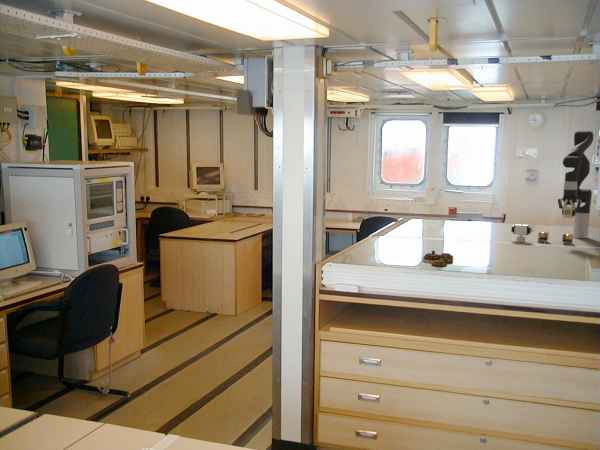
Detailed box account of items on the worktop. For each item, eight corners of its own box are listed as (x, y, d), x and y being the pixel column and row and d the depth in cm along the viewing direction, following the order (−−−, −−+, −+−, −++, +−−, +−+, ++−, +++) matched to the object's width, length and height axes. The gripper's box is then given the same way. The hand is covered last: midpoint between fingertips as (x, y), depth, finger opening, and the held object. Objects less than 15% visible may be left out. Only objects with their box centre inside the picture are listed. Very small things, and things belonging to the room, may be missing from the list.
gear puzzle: (453, 268, 308) (453, 260, 308) (420, 266, 312) (421, 259, 312) (453, 258, 338) (453, 250, 338) (423, 256, 342) (423, 249, 342)
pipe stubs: (539, 241, 401) (539, 230, 400) (572, 243, 391) (573, 232, 390) (537, 242, 396) (538, 231, 395) (571, 245, 386) (572, 233, 385)
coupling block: (566, 216, 385) (566, 205, 384) (574, 217, 382) (575, 206, 381) (562, 217, 380) (563, 206, 379) (571, 218, 377) (571, 207, 376)
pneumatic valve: (529, 242, 392) (530, 224, 391) (510, 241, 399) (511, 222, 397) (531, 241, 397) (532, 223, 395) (512, 240, 403) (513, 222, 402)
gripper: (584, 189, 377) (582, 216, 379) (560, 187, 386) (558, 214, 388) (580, 189, 371) (578, 217, 374) (556, 188, 380) (554, 215, 383)
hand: (568, 215), depth 381 cm, fingers closed on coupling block, 5 cm apart
